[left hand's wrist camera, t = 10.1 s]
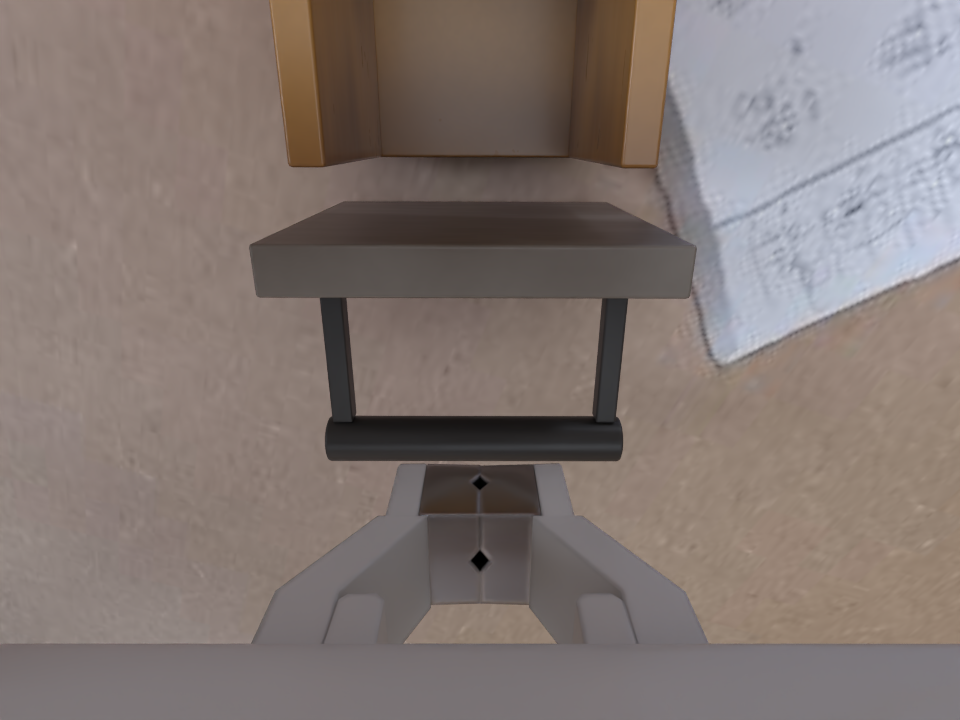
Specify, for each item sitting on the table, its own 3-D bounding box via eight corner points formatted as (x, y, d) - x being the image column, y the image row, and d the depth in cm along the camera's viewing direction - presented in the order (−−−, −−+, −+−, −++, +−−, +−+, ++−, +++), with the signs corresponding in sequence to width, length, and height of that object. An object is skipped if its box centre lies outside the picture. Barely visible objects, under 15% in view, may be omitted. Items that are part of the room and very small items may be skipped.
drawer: (593, 380, 23) (659, 517, 15) (357, 379, 23) (287, 516, 15) (658, -380, 15) (887, -1044, 6) (292, -382, 15) (53, -1055, 6)
